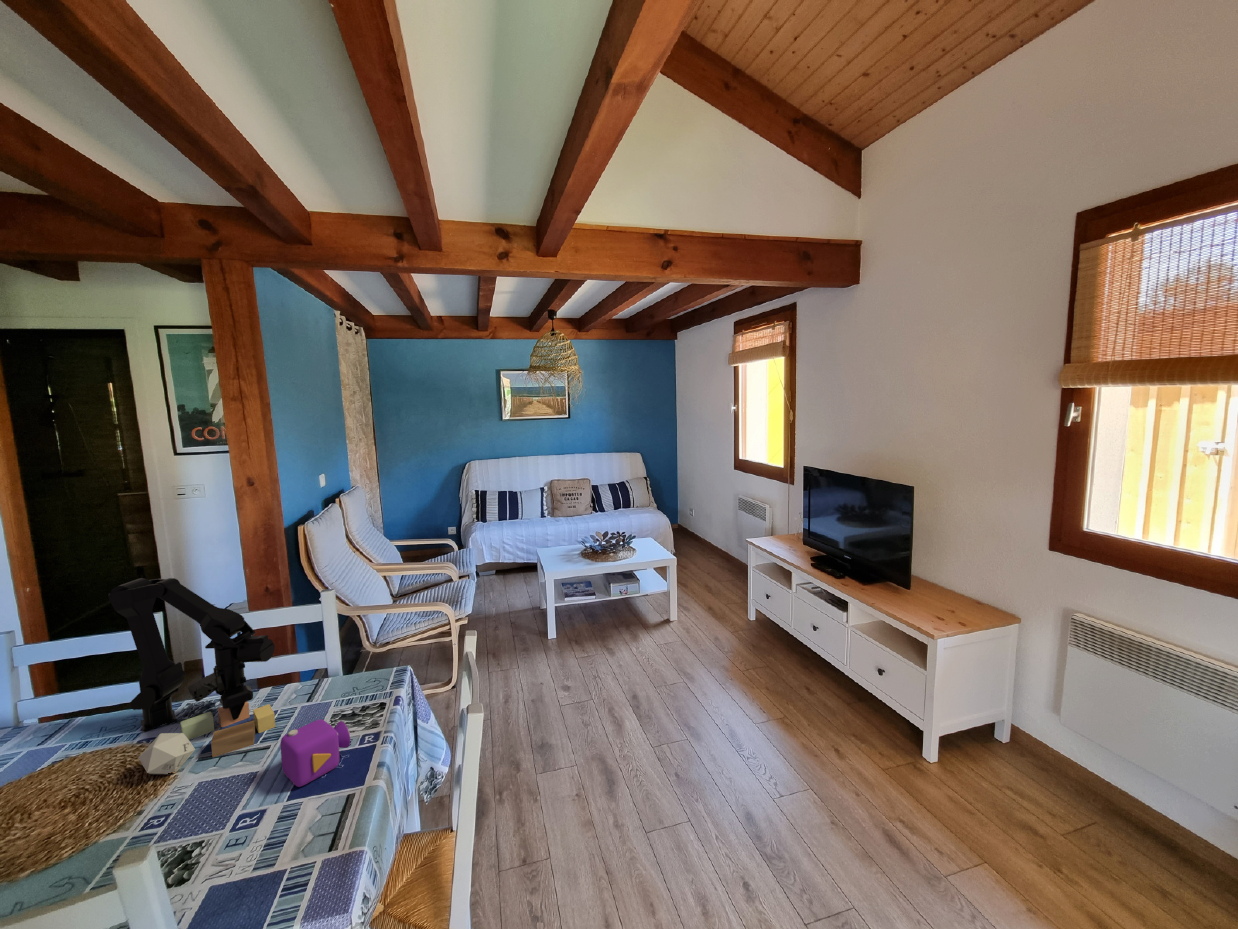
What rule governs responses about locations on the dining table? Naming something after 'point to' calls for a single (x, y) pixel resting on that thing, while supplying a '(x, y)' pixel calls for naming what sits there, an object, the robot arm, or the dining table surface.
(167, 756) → the die
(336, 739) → the toy camera
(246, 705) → the terracotta brick
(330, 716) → the dining table surface
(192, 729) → the sage brick
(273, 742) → the dining table surface
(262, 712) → the ochre brick
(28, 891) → the dining table surface
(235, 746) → the walnut base
